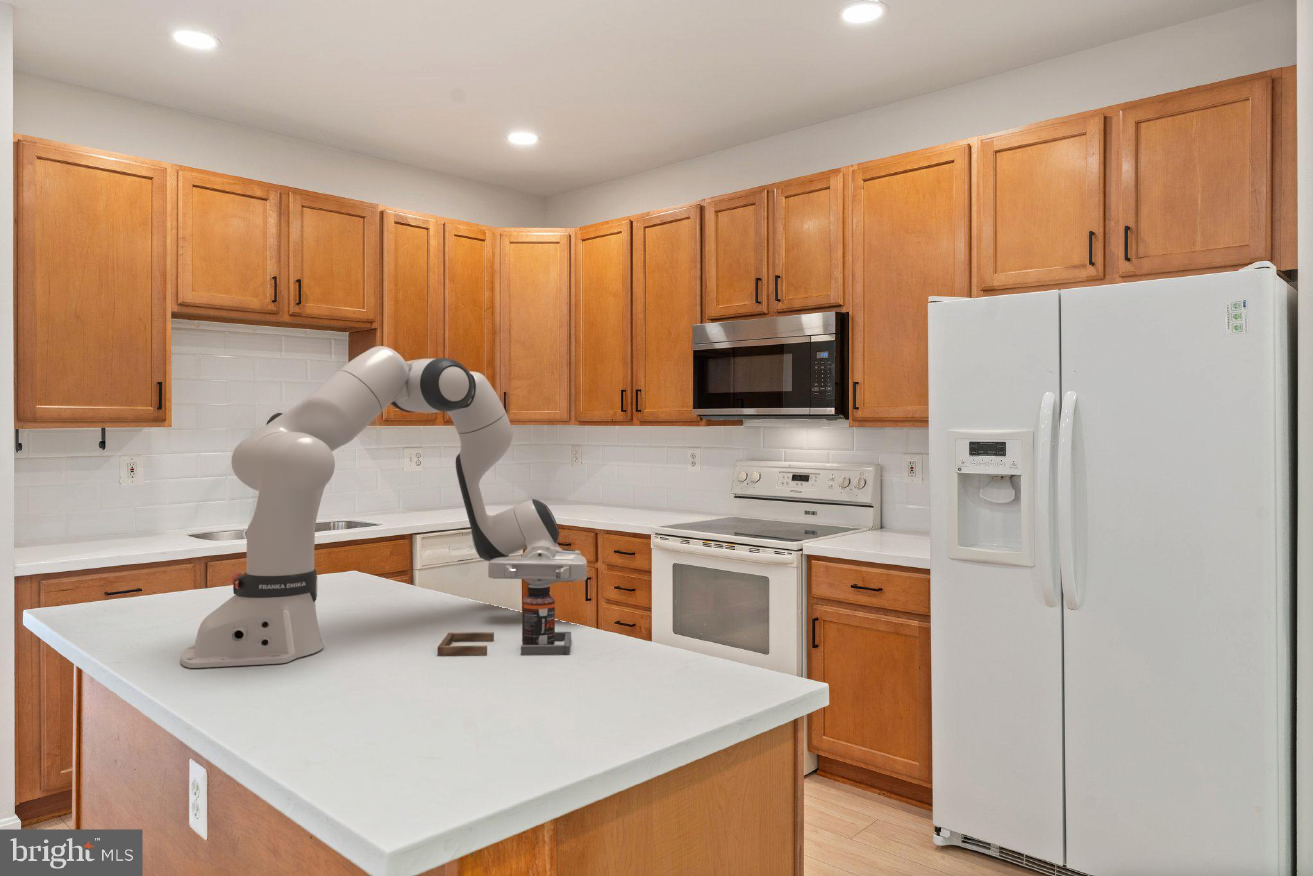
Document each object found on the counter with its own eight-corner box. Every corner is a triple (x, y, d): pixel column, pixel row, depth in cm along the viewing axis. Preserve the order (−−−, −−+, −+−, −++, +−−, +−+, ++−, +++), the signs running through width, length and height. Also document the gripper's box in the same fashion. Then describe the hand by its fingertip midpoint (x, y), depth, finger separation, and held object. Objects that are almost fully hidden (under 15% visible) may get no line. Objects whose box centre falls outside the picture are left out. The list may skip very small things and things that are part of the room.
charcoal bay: (520, 655, 149) (520, 646, 149) (525, 639, 160) (526, 632, 160) (569, 654, 150) (569, 646, 150) (571, 639, 161) (571, 631, 160)
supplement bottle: (552, 651, 152) (552, 588, 152) (519, 651, 152) (519, 588, 152) (556, 643, 158) (557, 582, 158) (525, 643, 158) (525, 582, 158)
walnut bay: (437, 655, 148) (437, 647, 148) (448, 640, 159) (448, 632, 159) (486, 655, 148) (486, 646, 148) (493, 640, 159) (494, 632, 159)
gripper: (492, 549, 181) (483, 557, 167) (587, 550, 182) (586, 559, 168) (491, 578, 181) (482, 589, 167) (587, 580, 182) (586, 590, 168)
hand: (535, 574), depth 168 cm, fingers open, 8 cm apart
